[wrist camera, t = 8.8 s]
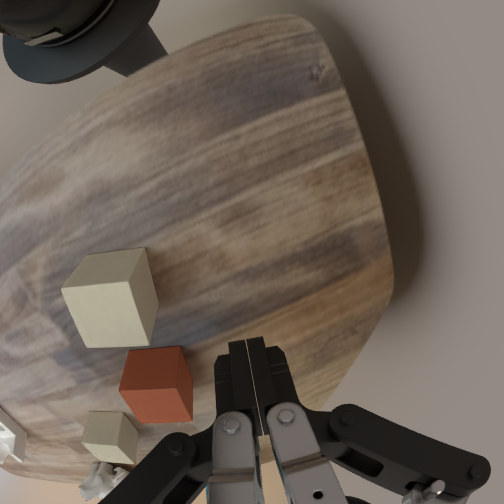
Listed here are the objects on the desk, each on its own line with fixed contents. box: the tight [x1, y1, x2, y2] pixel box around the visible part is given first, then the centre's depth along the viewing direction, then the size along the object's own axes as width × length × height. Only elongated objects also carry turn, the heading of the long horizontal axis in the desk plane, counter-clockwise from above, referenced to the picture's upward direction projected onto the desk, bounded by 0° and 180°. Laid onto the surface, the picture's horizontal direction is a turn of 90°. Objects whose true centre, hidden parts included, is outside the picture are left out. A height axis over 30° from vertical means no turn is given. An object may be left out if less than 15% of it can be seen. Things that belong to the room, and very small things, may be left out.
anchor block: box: [119, 346, 193, 423], centre depth 23 cm, size 5×5×5 cm
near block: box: [61, 247, 159, 348], centre depth 19 cm, size 5×5×5 cm
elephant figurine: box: [79, 462, 130, 501], centre depth 31 cm, size 10×12×9 cm
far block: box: [81, 411, 139, 464], centre depth 27 cm, size 5×5×5 cm
